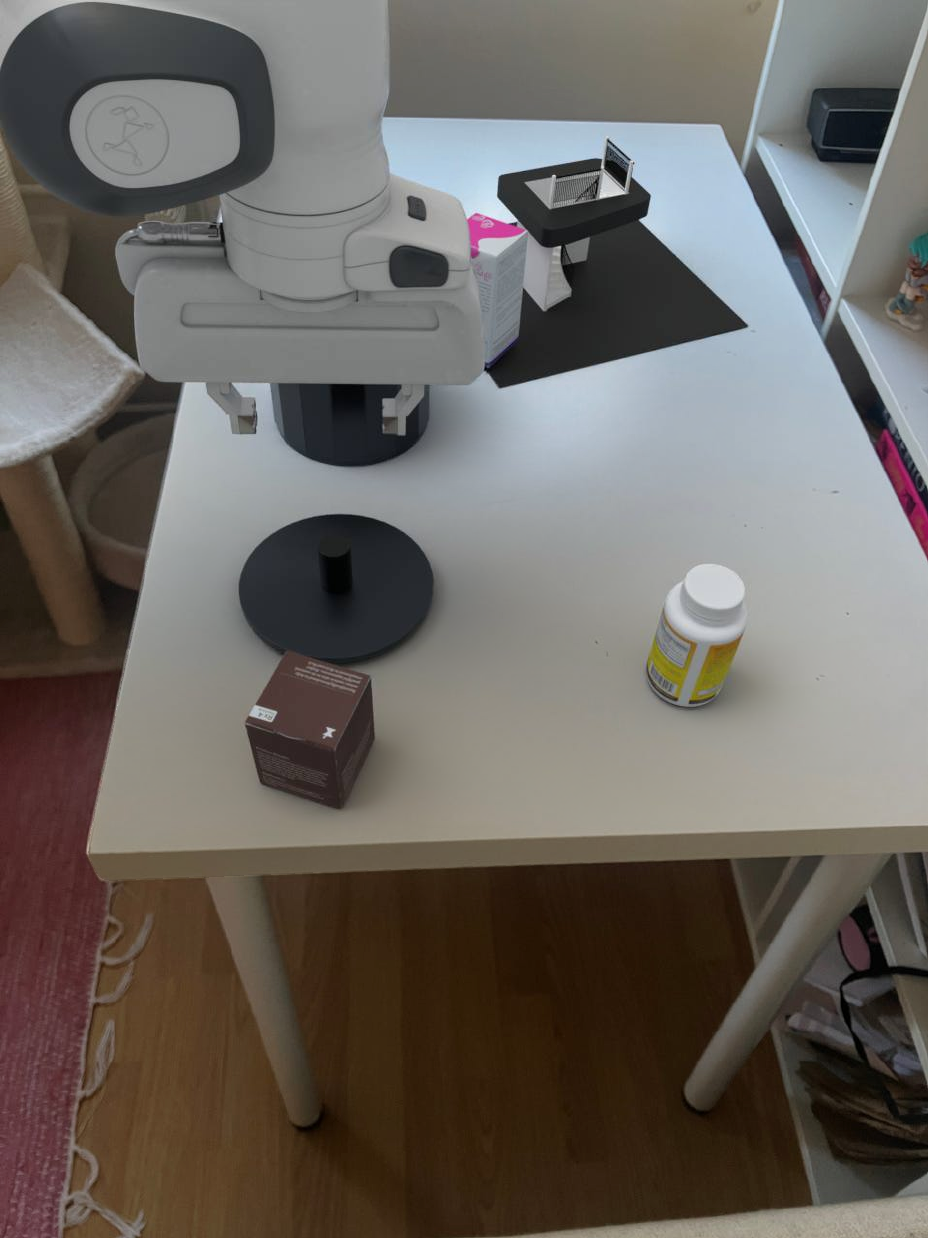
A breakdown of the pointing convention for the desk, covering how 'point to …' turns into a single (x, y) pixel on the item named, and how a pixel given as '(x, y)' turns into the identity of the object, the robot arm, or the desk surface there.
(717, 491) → the desk surface
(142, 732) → the desk surface
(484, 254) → the supplement box
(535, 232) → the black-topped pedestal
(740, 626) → the supplement bottle
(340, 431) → the trash can
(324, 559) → the bin lid
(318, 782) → the box
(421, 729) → the desk surface
